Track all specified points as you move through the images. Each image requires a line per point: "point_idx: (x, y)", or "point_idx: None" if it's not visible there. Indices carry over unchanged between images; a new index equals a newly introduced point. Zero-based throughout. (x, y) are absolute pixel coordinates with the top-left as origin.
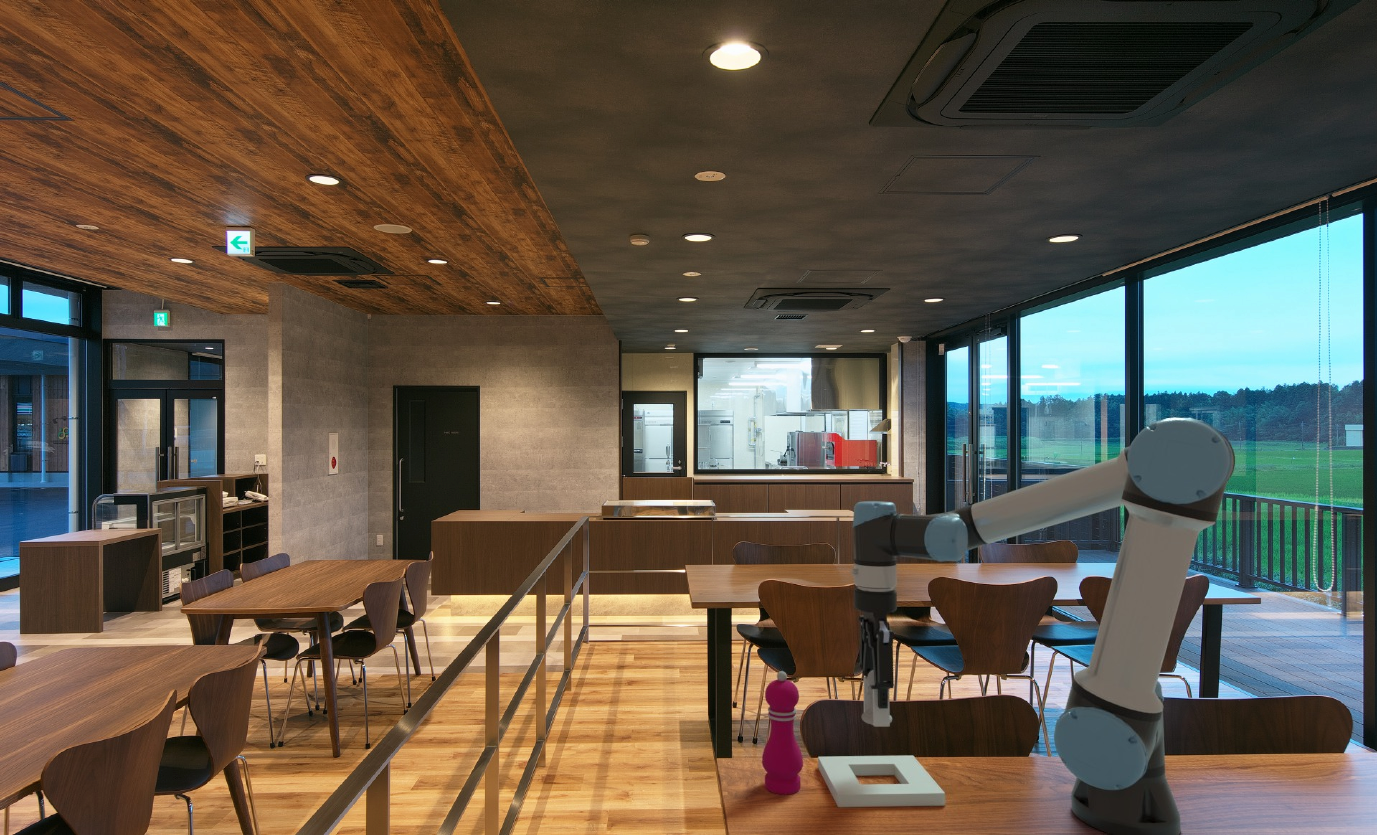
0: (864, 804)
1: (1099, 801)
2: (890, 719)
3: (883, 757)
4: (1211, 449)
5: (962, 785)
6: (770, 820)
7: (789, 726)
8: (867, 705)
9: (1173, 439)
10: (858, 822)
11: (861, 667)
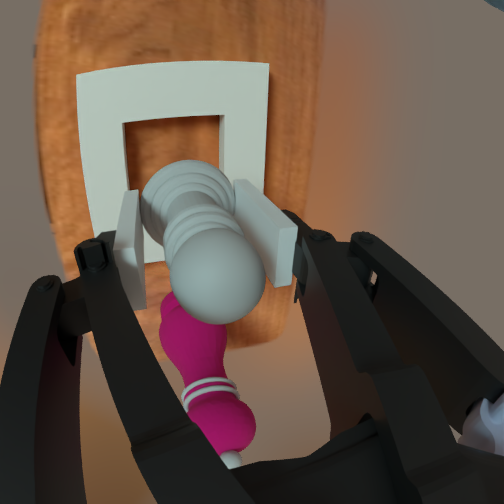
0: None
1: None
2: (219, 172)
3: (87, 140)
4: None
5: (179, 4)
6: (279, 313)
7: (224, 372)
8: (142, 240)
9: None
10: (299, 216)
11: (80, 336)
